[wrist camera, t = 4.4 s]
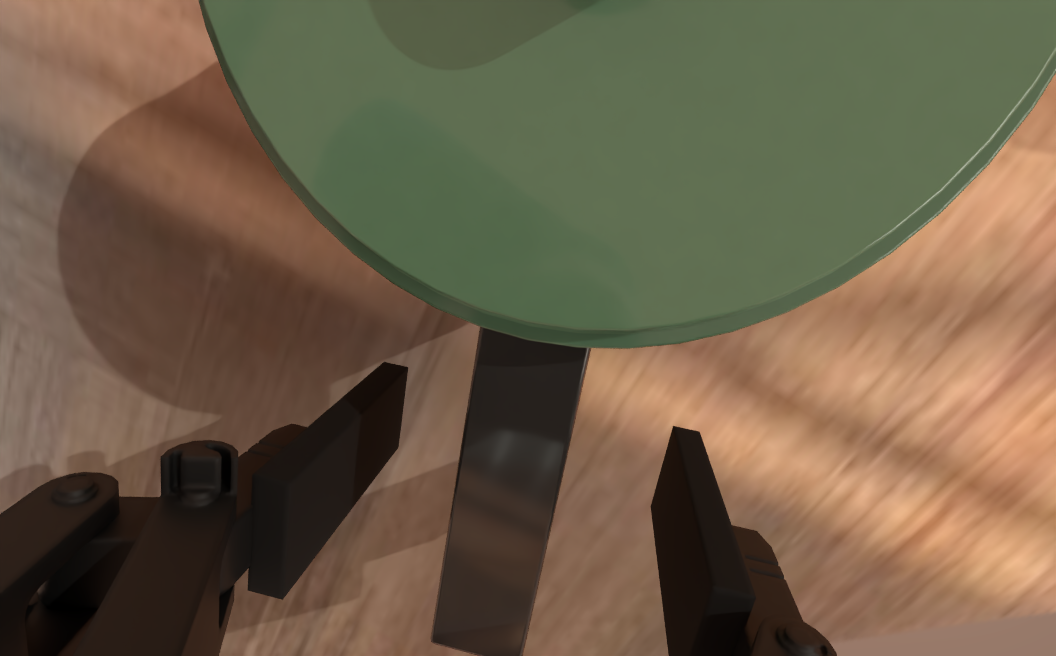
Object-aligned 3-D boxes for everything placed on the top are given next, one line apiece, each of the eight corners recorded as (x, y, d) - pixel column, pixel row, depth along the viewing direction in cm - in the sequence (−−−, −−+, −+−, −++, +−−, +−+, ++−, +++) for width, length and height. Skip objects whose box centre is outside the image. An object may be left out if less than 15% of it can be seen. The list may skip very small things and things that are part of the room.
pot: (365, 433, 20) (90, 732, 9) (434, -236, 14) (-54, -1361, 4) (693, 510, 19) (799, 939, 8) (903, -175, 13) (1995, -1455, 3)
